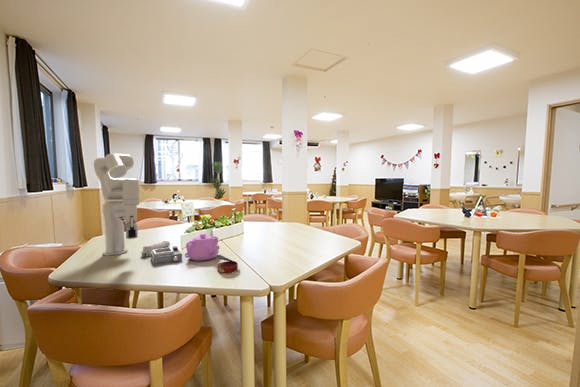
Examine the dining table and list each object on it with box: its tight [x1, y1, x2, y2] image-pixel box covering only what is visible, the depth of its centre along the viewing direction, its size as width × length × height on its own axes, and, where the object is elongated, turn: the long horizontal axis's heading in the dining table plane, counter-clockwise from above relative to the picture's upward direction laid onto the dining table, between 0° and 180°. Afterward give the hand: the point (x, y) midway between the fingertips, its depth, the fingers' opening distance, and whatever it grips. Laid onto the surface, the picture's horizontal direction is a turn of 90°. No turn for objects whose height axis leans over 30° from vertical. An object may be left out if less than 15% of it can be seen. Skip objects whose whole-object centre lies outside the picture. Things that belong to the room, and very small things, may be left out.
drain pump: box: [125, 223, 139, 240], centre depth 136 cm, size 5×5×8 cm
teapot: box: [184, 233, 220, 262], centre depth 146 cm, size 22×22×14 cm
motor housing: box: [150, 245, 183, 266], centre depth 143 cm, size 16×14×6 cm
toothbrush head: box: [140, 240, 171, 258], centre depth 160 cm, size 5×7×25 cm
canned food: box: [216, 254, 239, 274], centre depth 127 cm, size 11×10×10 cm
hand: (131, 235), depth 136 cm, fingers closed on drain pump, 5 cm apart
